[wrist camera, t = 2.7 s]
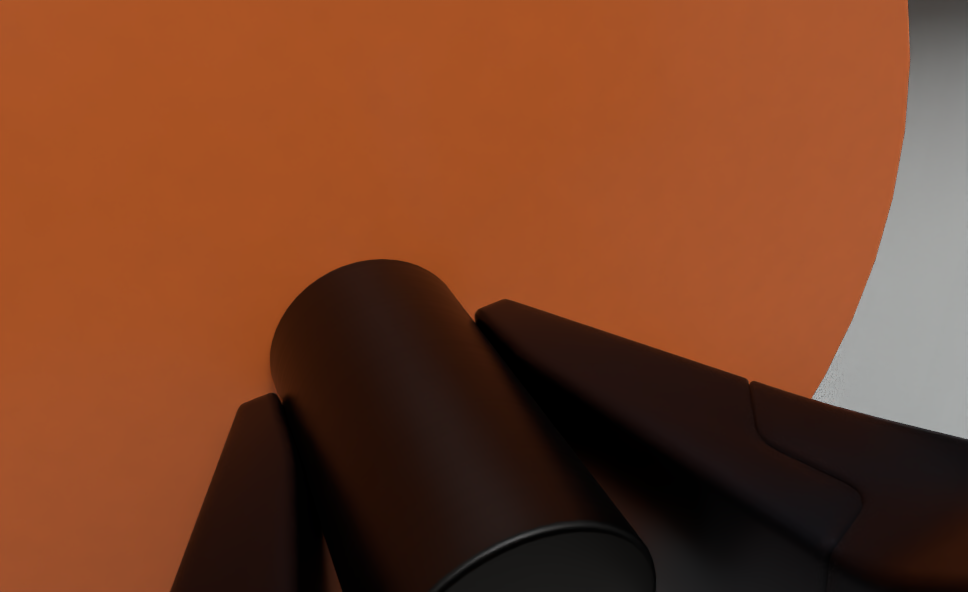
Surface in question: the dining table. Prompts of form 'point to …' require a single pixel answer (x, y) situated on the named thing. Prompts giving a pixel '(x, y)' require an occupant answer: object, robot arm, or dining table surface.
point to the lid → (406, 256)
